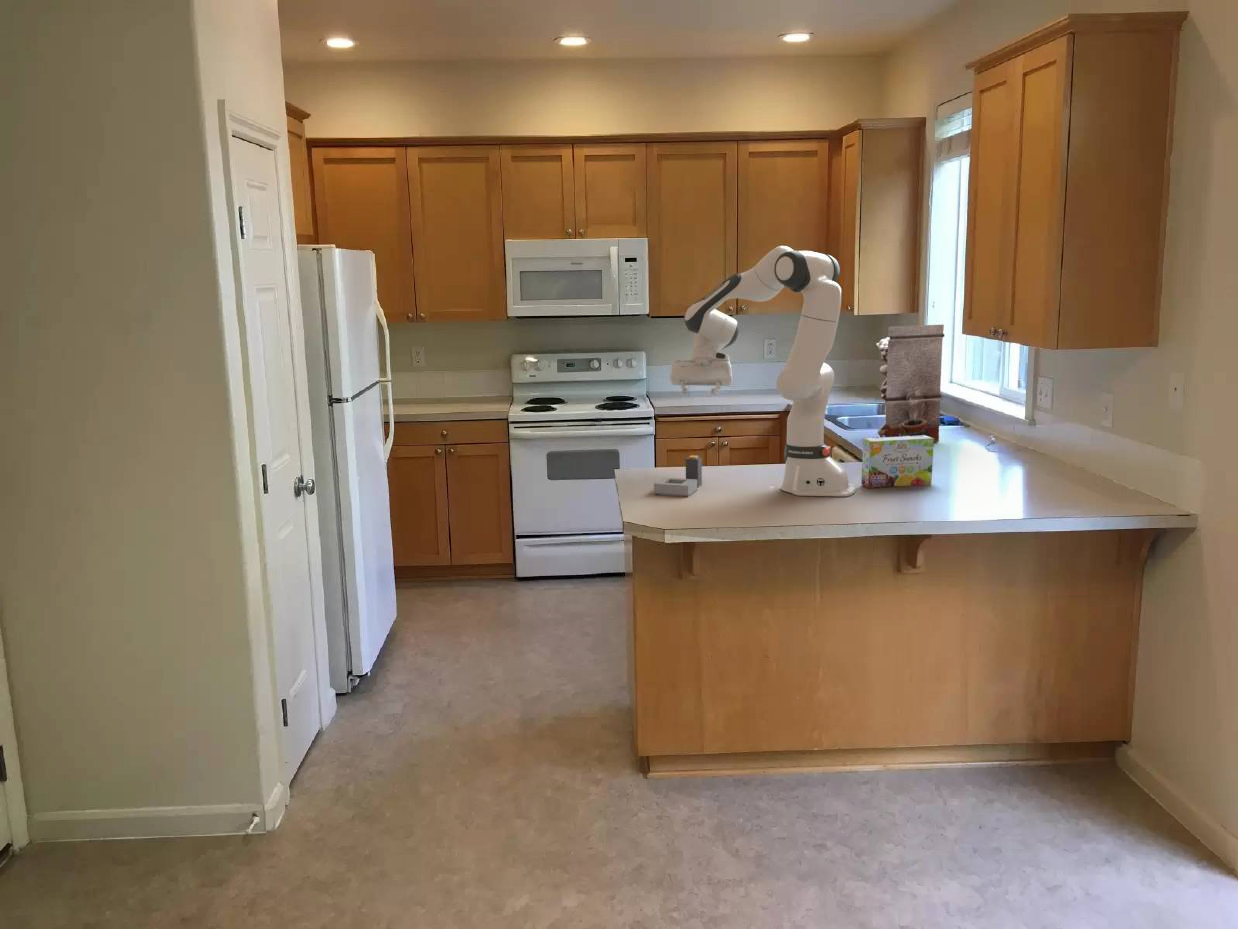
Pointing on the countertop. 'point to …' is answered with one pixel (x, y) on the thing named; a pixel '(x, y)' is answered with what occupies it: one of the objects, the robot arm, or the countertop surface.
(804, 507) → the countertop surface
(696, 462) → the plug
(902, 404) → the cherub statue
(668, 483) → the socket plate
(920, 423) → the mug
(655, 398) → the countertop surface
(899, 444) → the snack box
